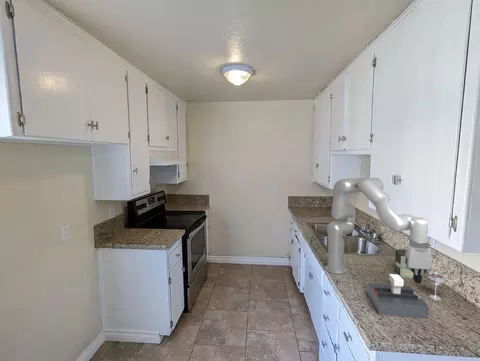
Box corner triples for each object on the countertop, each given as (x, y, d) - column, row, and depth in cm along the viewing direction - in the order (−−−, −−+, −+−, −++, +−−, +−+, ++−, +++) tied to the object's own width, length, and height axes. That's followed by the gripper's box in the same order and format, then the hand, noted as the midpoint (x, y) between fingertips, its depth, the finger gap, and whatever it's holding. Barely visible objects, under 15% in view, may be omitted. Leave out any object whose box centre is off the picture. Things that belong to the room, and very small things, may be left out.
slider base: (367, 294, 138) (367, 281, 137) (409, 297, 134) (409, 284, 133) (379, 314, 120) (379, 299, 119) (427, 318, 116) (428, 303, 116)
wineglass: (442, 302, 129) (444, 279, 128) (426, 297, 134) (427, 275, 133) (444, 297, 134) (445, 274, 133) (428, 292, 139) (429, 270, 137)
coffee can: (391, 273, 162) (392, 251, 160) (399, 269, 167) (400, 248, 166) (409, 280, 153) (410, 256, 152) (417, 275, 158) (418, 253, 157)
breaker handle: (388, 289, 130) (389, 274, 129) (397, 290, 129) (398, 274, 128) (393, 296, 124) (394, 279, 123) (402, 296, 123) (403, 280, 122)
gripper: (432, 242, 125) (430, 279, 126) (398, 241, 128) (396, 277, 129) (441, 247, 118) (439, 287, 119) (405, 246, 120) (403, 284, 122)
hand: (417, 282), depth 124 cm, fingers closed
